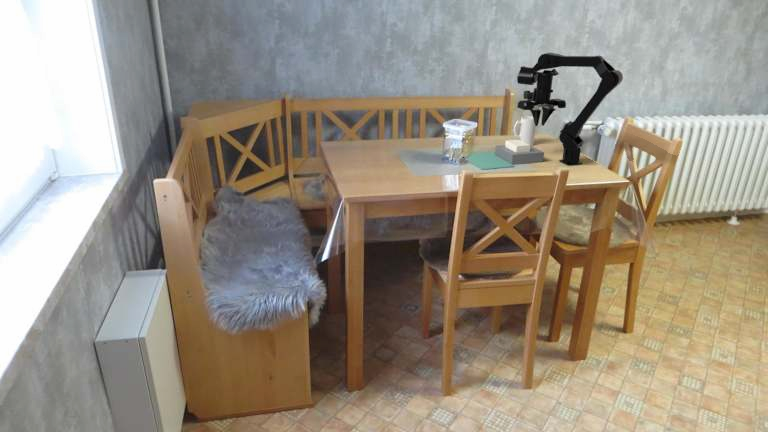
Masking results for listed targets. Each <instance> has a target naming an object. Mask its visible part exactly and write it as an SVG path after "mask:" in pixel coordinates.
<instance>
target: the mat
mask: <svg viewBox="0 0 768 432" xmlns="http://www.w3.org/2000/svg"><path fill="white" fill-rule="evenodd" d="M471 154H472V155H471V156H470V157H468V158H465V159H464V160H466V161H468V162H469V163H470V164H471V165H473V166H475V167H476V168H478V169H479V170H482V171H485V170H496V169H506V168H507V169H508V168H515V164H514V165H512V164H510V163H508V162H507V161H505V160H503V159H501V158H500V157H498V156H496V155H495V153H492V152H477V153H471Z"/></svg>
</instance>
